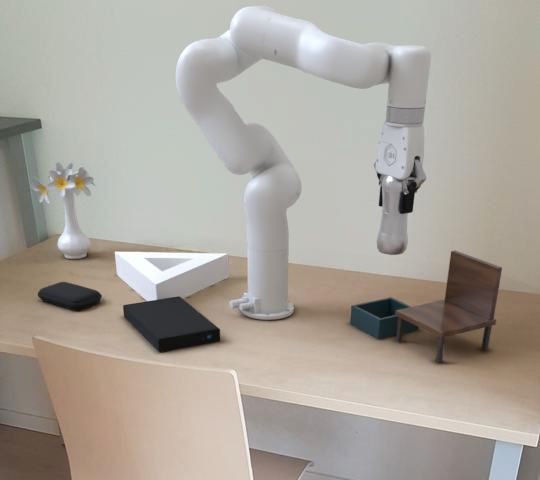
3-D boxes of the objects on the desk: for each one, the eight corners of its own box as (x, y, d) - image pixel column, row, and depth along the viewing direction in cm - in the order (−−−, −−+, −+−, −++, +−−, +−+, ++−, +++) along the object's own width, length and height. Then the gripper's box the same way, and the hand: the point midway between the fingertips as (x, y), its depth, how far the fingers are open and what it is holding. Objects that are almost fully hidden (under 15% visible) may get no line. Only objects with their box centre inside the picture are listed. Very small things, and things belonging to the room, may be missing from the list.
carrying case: (109, 301, 193) (67, 289, 200) (108, 288, 192) (66, 277, 199) (77, 313, 186) (35, 300, 193) (75, 300, 184) (33, 288, 191)
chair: (438, 364, 163) (449, 279, 153) (392, 340, 173) (400, 259, 164) (491, 350, 169) (505, 267, 160) (443, 328, 180) (454, 249, 170)
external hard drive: (180, 308, 189) (180, 296, 188) (220, 341, 172) (220, 328, 170) (124, 317, 184) (122, 305, 182) (159, 352, 166) (158, 339, 165)
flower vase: (35, 261, 220) (20, 167, 206) (79, 245, 233) (68, 156, 220) (70, 269, 214) (58, 172, 201) (113, 252, 228) (104, 161, 215)
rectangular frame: (378, 339, 174) (379, 319, 172) (349, 324, 182) (351, 305, 179) (418, 329, 179) (420, 310, 177) (389, 315, 187) (391, 296, 184)
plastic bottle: (408, 258, 168) (420, 159, 158) (376, 257, 168) (386, 158, 158) (404, 249, 174) (415, 153, 163) (373, 249, 174) (382, 152, 163)
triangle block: (157, 310, 188) (155, 284, 185) (77, 290, 200) (74, 265, 196) (228, 277, 210) (228, 253, 206) (152, 261, 221) (151, 238, 218)
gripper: (363, 111, 161) (356, 202, 170) (418, 123, 148) (408, 220, 158) (392, 109, 164) (383, 198, 174) (448, 121, 152) (436, 216, 161)
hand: (395, 208), depth 166 cm, fingers closed on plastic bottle, 6 cm apart
